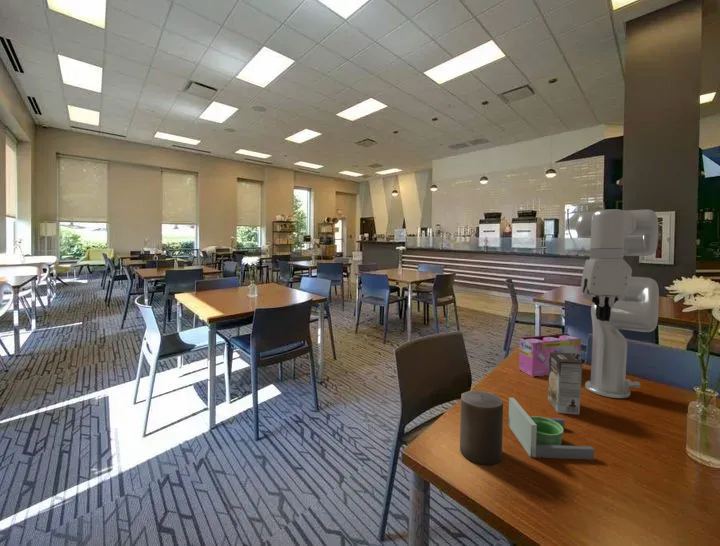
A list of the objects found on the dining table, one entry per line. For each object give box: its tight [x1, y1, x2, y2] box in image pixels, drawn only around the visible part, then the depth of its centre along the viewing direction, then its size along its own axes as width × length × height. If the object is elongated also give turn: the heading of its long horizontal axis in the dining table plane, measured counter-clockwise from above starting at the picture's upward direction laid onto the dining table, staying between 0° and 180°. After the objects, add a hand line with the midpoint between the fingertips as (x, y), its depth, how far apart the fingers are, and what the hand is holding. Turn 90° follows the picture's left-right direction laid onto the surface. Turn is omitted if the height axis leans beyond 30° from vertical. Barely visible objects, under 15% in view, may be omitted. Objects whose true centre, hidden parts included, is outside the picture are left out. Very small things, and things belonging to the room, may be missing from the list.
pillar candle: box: [459, 390, 504, 466], centre depth 82 cm, size 10×10×15 cm
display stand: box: [508, 397, 595, 460], centre depth 87 cm, size 14×14×8 cm
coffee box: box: [547, 352, 583, 416], centre depth 104 cm, size 9×6×16 cm
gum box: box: [518, 333, 582, 378], centre depth 134 cm, size 24×8×14 cm, turn 104°
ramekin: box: [529, 415, 565, 445], centre depth 87 cm, size 9×9×4 cm
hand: (602, 320), depth 95 cm, fingers closed
